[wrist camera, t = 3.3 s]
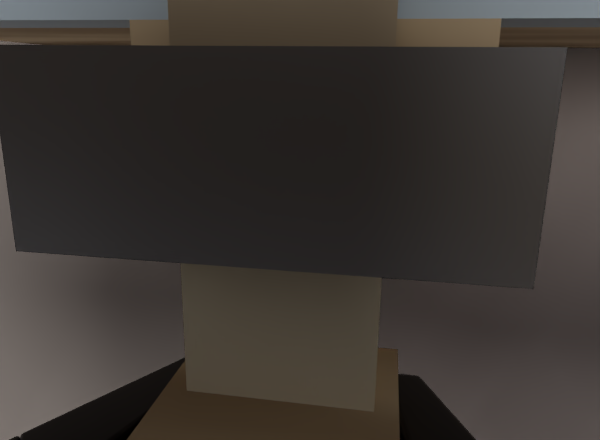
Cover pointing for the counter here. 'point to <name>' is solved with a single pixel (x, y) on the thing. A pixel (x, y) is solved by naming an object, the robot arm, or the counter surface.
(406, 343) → the counter surface
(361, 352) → the beige long block
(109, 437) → the robot arm
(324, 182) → the toolbox
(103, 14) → the lid
